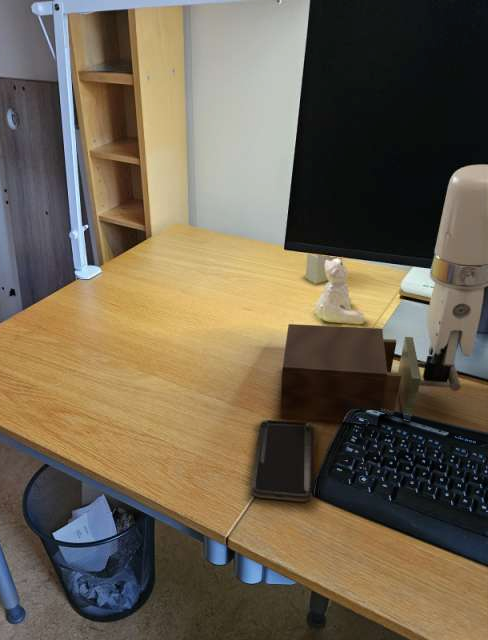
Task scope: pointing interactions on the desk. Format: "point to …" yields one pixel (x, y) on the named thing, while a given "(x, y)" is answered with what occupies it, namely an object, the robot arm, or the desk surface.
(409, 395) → the drawer
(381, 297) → the desk surface
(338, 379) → the cabinet
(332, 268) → the sitting furry creature
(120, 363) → the desk surface
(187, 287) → the desk surface
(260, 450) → the phone
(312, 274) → the cream upright block
